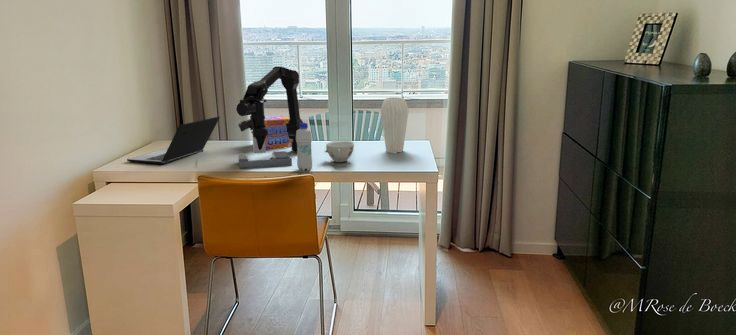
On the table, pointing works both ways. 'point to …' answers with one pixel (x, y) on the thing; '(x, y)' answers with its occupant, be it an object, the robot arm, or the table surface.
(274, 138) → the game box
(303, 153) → the bottle
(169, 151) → the laptop
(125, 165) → the table surface
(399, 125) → the vase
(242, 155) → the vise
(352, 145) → the teacup
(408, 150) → the table surface
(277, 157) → the panel
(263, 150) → the block
